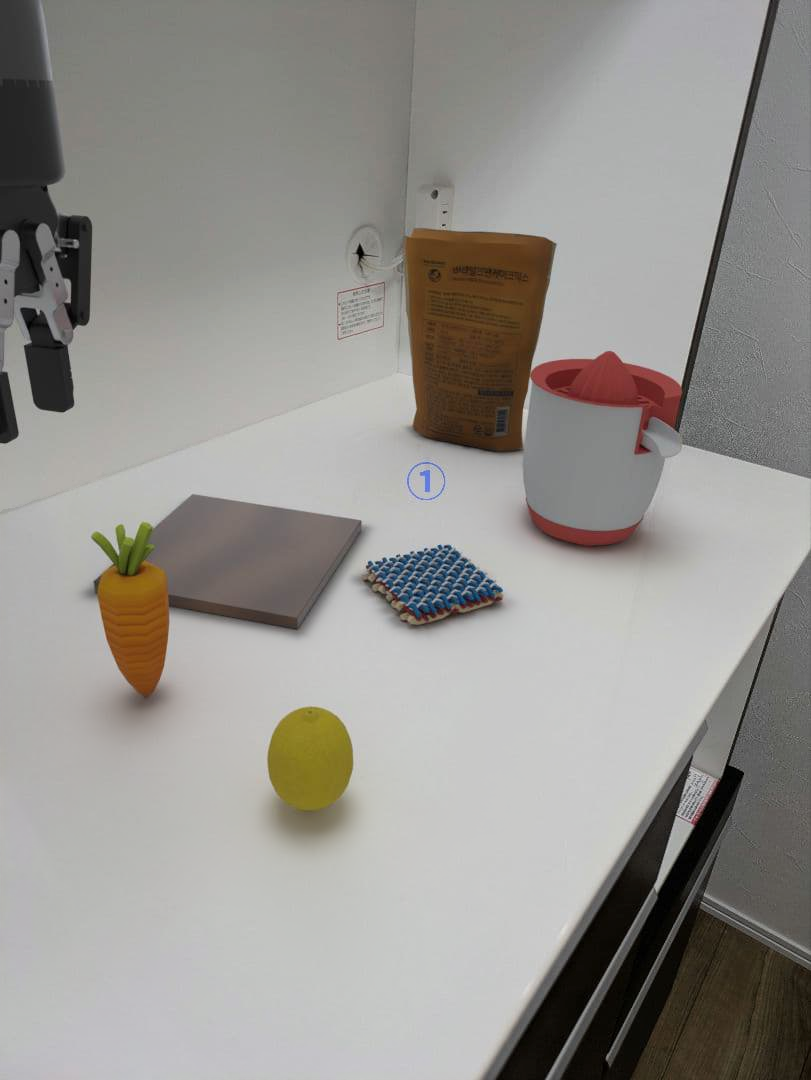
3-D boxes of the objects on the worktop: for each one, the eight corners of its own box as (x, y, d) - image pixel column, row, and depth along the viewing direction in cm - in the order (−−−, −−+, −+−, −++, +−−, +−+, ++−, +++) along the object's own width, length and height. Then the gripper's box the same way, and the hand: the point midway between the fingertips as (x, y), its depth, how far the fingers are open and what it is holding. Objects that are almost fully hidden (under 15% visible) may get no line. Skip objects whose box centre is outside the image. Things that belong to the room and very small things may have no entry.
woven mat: (448, 555, 86) (449, 538, 85) (507, 605, 78) (509, 587, 77) (358, 576, 82) (359, 559, 81) (411, 632, 74) (412, 613, 73)
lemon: (252, 802, 55) (247, 709, 52) (317, 762, 59) (316, 672, 55) (304, 851, 52) (302, 755, 48) (369, 806, 56) (372, 714, 52)
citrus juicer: (604, 580, 83) (641, 388, 74) (484, 515, 95) (502, 342, 85) (692, 538, 92) (735, 363, 83) (573, 483, 104) (598, 324, 95)
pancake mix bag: (523, 462, 109) (550, 240, 96) (391, 436, 116) (400, 223, 102) (536, 446, 115) (564, 233, 101) (410, 421, 121) (421, 218, 108)
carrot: (100, 709, 63) (72, 535, 56) (134, 670, 67) (112, 504, 60) (160, 721, 62) (139, 546, 55) (190, 682, 66) (174, 514, 59)
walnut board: (94, 592, 77) (93, 581, 77) (193, 503, 94) (192, 493, 94) (297, 629, 73) (297, 618, 73) (361, 529, 91) (361, 520, 90)
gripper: (-5, 70, 44) (46, 379, 53) (-249, 57, 32) (-134, 463, 40) (121, 77, 43) (154, 393, 51) (-83, 65, 31) (2, 484, 39)
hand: (27, 422), depth 46 cm, fingers open, 4 cm apart
